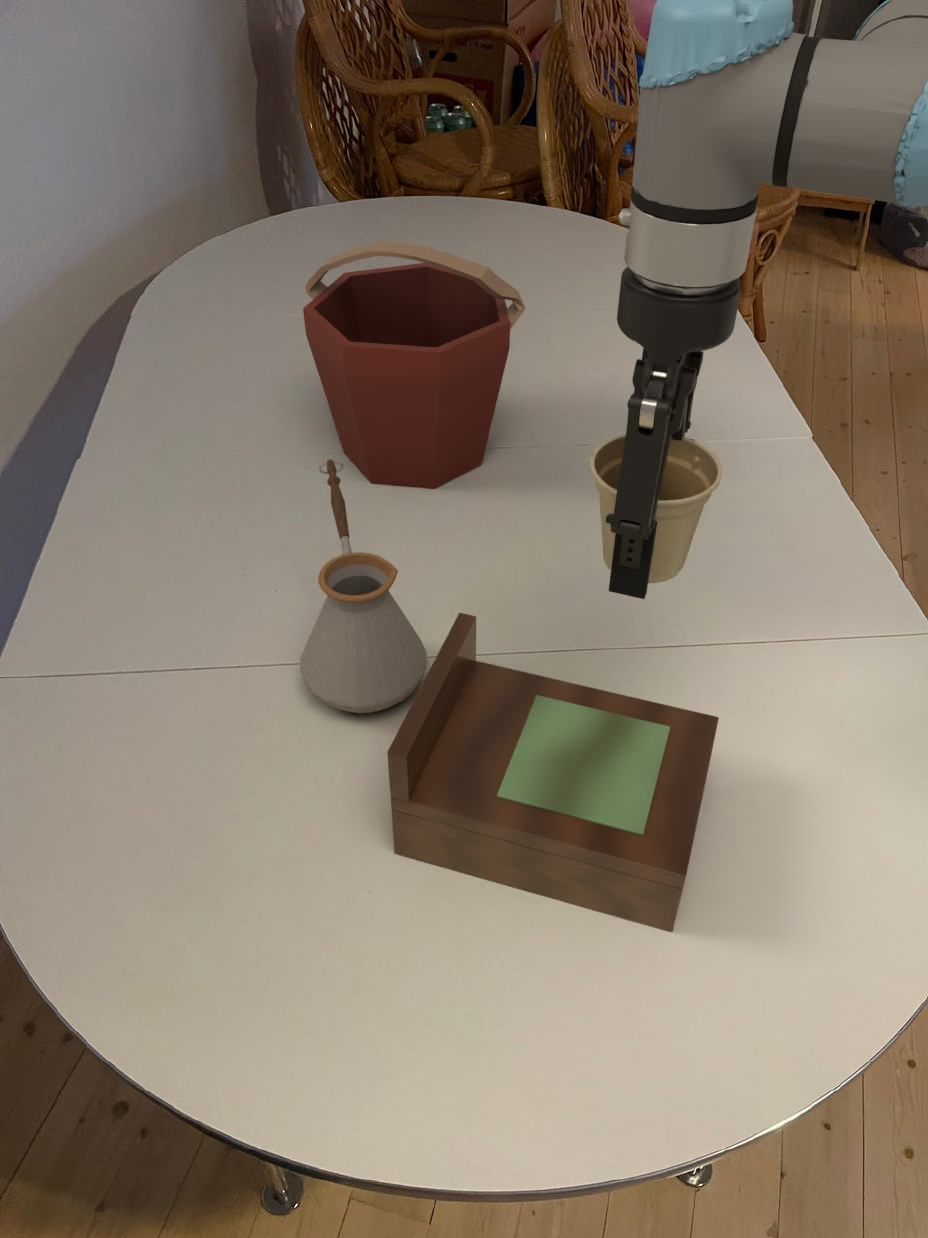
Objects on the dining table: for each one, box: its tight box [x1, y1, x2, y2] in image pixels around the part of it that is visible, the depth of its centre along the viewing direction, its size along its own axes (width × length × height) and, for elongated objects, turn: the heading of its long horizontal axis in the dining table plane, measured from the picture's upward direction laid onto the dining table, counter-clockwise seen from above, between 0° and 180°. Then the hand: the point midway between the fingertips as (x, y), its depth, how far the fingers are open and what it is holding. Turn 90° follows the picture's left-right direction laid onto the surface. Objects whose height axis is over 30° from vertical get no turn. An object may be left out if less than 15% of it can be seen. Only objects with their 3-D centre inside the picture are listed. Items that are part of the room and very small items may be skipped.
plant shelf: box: [386, 612, 719, 933], centre depth 81 cm, size 22×16×12 cm
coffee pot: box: [299, 458, 428, 714], centre depth 95 cm, size 21×12×15 cm, turn 13°
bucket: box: [302, 240, 527, 490], centre depth 117 cm, size 24×22×25 cm
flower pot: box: [589, 433, 724, 584], centre depth 78 cm, size 9×9×9 cm
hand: (640, 556), depth 80 cm, fingers closed on flower pot, 8 cm apart
